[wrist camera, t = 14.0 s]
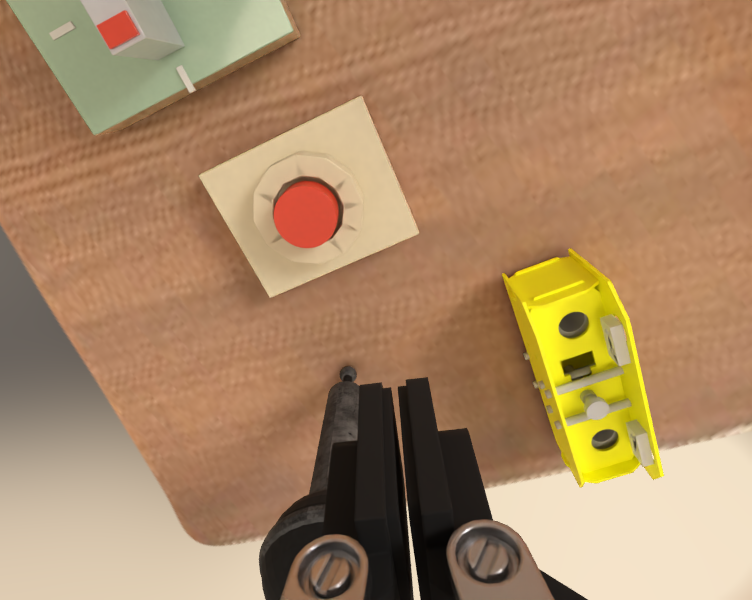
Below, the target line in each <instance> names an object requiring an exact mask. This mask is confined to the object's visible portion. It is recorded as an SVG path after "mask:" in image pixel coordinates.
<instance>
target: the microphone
mask: <svg viewBox="0 0 752 600" xmlns="http://www.w3.org/2000/svg"><path fill="white" fill-rule="evenodd" d="M356 377H357V373H356V371H355V369H354V368H353V367H350V366H347V367H344V368H343V369H342V370H341V371H340V379H341V380H342V381H343V382H339V383H337V384H335V385H334V386H333V387H332V388H331V389H330V391H329V394H328V399H327V404H326V410H325V415H324V420H323V425H322V430H321V436H320V441H319V446H318V451H317V456H316V461H315V467H314V472H313V477H312V482H311V487H310V492H309V495H307V496H304V497H303V498H301V499H299V500H298V501H296V502H295V503H294V504H293V505H292V506H291V507H290V508H289V509H287V510H286V511H285V512H284V513H283V514H282V515H281V517H280V518H279V520H278V521H277V523H276V524H275V526H274V527H273V528H272V529H271V530H270V532H269V533H268V535H267V536H266V538H265V540H264V542H263V544H262V546H261V549H260V555H259V566H260V574H261V577H262V586H263V591H264V595H265V599H266V600H279V599H280V598H281V596H282V593H283V590H284V587H285V583H286V580H287V577H288V574H289V571H290V568H291V565H292V563H293V561H294V559H295V557H296V556H297V554H298V553H299V552H300V551H301V550H302V549H303V548H304V547H305V546H306V545H307V544H309V543H310V542H312V541H313V540H315V539H317V538H320V537H322V532H323V523H324V513H325V504H326V495H327V485H328V476H329V467H330V457H331V449H332V444H333V443H335V442H345V441H354V440H357V435H358V409H359V385H357V384H356V383H354V381H355V379H356Z"/></svg>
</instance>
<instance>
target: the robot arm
mask: <svg viewBox="0 0 752 600" xmlns="http://www.w3.org/2000/svg"><path fill="white" fill-rule="evenodd" d="M398 395H399V407H400V418H401V430H402V442H403V454H404V465H405V477H406V489H407V501H408V510H409V519H410V527H411V534H412V541H413V548H414V555H415V562H416V570H417V576H418V583H419V591H420V598H421V600H587V599H586V598H584V597H583V596H581V595H579V594H578V593H576V592H575V591H573V590H571V589H570V588H568V587H567V586H565V585H563V584H562V583H560V582H558V581H557V580H556V579H554V578H552V577H551V576H549V575H547V574H546V573H544V572H543V571H541V570H539V569H538V567H537V565H536V563H535V561H534V559H533V557H532V555H531V553H530V551H529V549H528V547H527V545H526V544H525V542H524V541H523V539H522V538H521V536H520V535H519V534H518V533H517V532H515V531H514V530H513V529H512V528H510V527H509V526H507V525H505V524H502V523H500V522H498V521H493V519H492V515H491V511H490V508H489V505H488V501H487V497H486V493H485V490H484V486H483V482H482V479H481V475H480V471H479V468H478V464H477V460H476V457H475V453H474V449H473V446H472V442H471V438H470V435H469V432H468V429H467V428H464V429H455V430H446V431H438V429H437V424H436V419H435V413H434V408H433V403H432V397H431V392H430V387H429V381H428V377H426V378H417V379H408V380H406V386H400V387H398ZM279 600H414V598H413V586H412V573H411V562H410V549H409V536H408V525H407V511H406V499H405V487H404V477H403V469H402V462H401V455H400V447H399V440H398V433H397V426H396V419H395V412H394V405H393V398H392V391H391V388H383V386H382V383H373V384H365V385H360V386H359V409H358V435H357V440H354V441H345V442H335V443H333V444H332V449H331V457H330V467H329V476H328V485H327V495H326V504H325V513H324V523H323V532H322V537H320V538H317V539H315V540H313V541H312V542H310V543H309V544H307V545H306V546H305V547H304V548H303V549H302V550H301V551H300V552H299V553H298V554H297V556H296V557H295V559H294V561H293V563H292V565H291V568H290V571H289V574H288V577H287V580H286V583H285V587H284V590H283V593H282V596H281V598H280V599H279Z"/></svg>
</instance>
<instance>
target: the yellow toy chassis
mask: <svg viewBox="0 0 752 600" xmlns="http://www.w3.org/2000/svg"><path fill="white" fill-rule="evenodd" d="M568 252H569V256H570V257H563V258H558V257H555V258H552V259H550V260H547V261H544V262H542V263H539V264H536V265H533V266H531V267H528V268H525V269H523V270H520V271H517V272H515V275H513V276H512V277H510V278H508V277H507V276H506V274H505V273H503V274H502V276H503V280H504V283H505V286H506V289H507V292H508V295H509V298H510V301H511V304H512V307H513V310H514V313H515V316H516V320H517V323H518V326H519V329H520V332H521V335H522V338H523V341H524V344H525V347H526V350H527V352H525V353H523V355H524V358H525V360H528V359H529V360H530V363H531V366H532V369H533V372H534V375H535V378H536V381H533V382H532V383H533V385H534V388H538V387H539V390H540V393H541V396H542V400H543V403H544V406H545V409H546V412H547V415H548V418H549V421H550V424H551V427H552V430H553V433H554V436H555V440H556V442H557V444H558V446H559V448H560V450H561V452H562V453H561V457H562V459H563V461H564V463H565V465H566V466H568V467H569V468H570V469H571V471H572V473H573V475H574V477H575V479H576V481H577V483H578V485H579V487H583V485H584V483H585V482H589V483H600V482H602V481H606V480H610V479H613V478H616V477H620V476H623V475H626V474H630V473H633V472H634V471H635V470H636V469H637V468H638V466H639V465H640V464H641V465H642V466H643V467H644V468H645V469H646V471H647V472H648V473H649V475H650V476H651V478H652V479H653V480H654V479H657V478H659V477H662V476H664V474H663V470H662V465H661V461H660V456H659V451H658V447H657V442H656V438H655V433H654V428H653V424H652V419H651V415H650V410H649V406H648V401H647V397H646V392H645V387H644V383H643V378H642V374H641V369H640V365H639V360H638V355H637V351H636V346H635V342H634V337H633V333H632V328H631V324H630V319H629V317H628V315H627V313H626V311H625V309H624V307H623V305H622V303H621V301H620V299H619V297H618V295H617V293H616V290H615V288H614V286H613V284H612V282H611V280H609V279H608V278H607V277H606V276H604V275H603V274H602V273H601V272H599V271H598V270H597V269H596V268H595V267H593V266H592V265H591V264H590V263H588V262H587V261H586V260H585V259H583V258H582V257H581V256H580V255H578V254H577V253H576V252H575V251H574V250H572V249H571V248H570V249H568ZM615 315H616V316H617V317H618V318H619V320H620V321H621V322H620V321H619V320H618V319H617V318H615ZM623 327H624V329H625V332H626V335H627V341H626V338H625V333H624V329H623ZM651 451H652V452H651ZM652 453H653V456H654V459H653V458H652Z"/></svg>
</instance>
